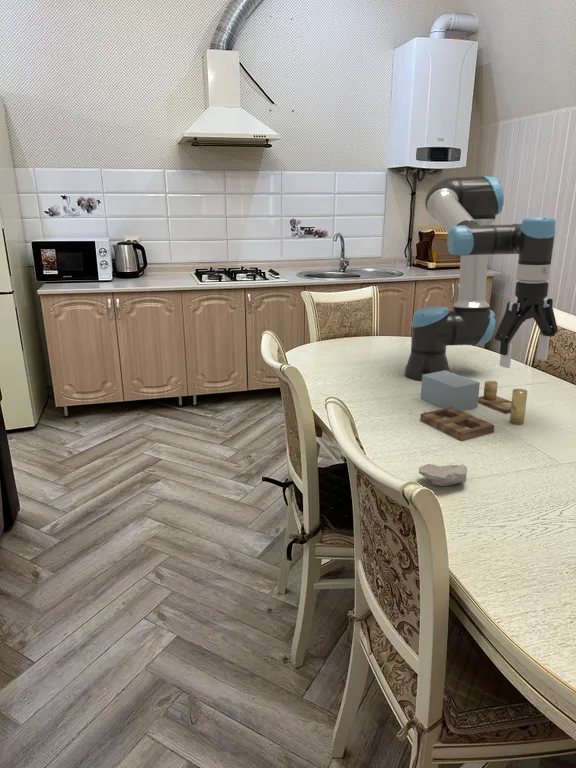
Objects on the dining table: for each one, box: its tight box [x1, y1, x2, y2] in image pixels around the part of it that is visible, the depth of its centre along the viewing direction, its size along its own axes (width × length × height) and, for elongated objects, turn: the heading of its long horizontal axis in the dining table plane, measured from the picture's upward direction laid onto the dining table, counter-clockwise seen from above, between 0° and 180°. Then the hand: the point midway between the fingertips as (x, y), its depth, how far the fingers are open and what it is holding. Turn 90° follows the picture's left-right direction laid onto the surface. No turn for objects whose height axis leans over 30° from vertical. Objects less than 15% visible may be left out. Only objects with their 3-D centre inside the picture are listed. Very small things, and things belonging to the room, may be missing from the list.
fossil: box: [418, 463, 468, 487], centre depth 118 cm, size 9×6×10 cm
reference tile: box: [478, 380, 512, 414], centre depth 162 cm, size 12×7×6 cm, turn 27°
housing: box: [420, 370, 481, 412], centre depth 164 cm, size 14×9×8 cm, turn 27°
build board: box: [419, 407, 495, 442], centre depth 148 cm, size 16×11×2 cm
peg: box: [509, 388, 528, 426], centre depth 148 cm, size 4×4×9 cm
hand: (523, 363), depth 144 cm, fingers open, 13 cm apart
